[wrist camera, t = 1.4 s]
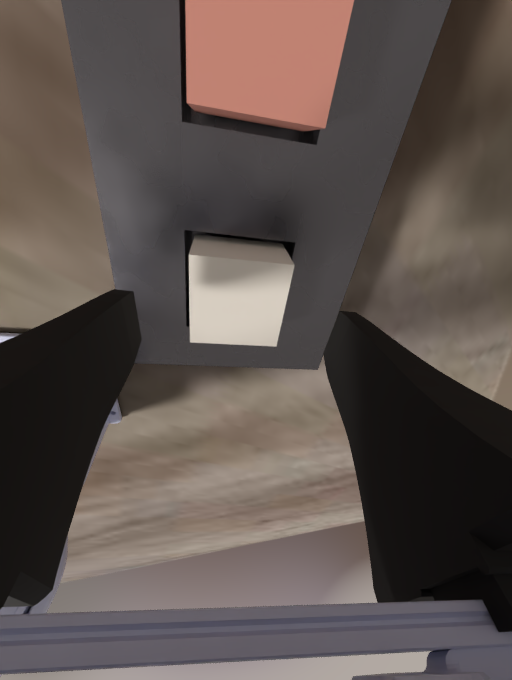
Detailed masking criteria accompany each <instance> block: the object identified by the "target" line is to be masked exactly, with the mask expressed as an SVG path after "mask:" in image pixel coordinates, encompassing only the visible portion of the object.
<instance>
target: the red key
mask: <svg viewBox="0 0 512 680" xmlns="http://www.w3.org/2000/svg"><path fill="white" fill-rule="evenodd" d="M353 3H354V0H185V10H186V85H187V104H188V105H189V106H190V107H191V108H192V109H193V110H194V111H195V112H197V113H203V114H208V115H214V116H219V117H225V118H231V119H236V120H242V121H247V122H253V123H258V124H264V125H269V126H275V127H280V128H286V129H292V130H297V131H303V132H304V131H311V130H319V129H325V128H326V123H327V119H328V114H329V110H330V106H331V101H332V97H333V92H334V88H335V83H336V79H337V74H338V70H339V66H340V61H341V57H342V52H343V48H344V43H345V39H346V34H347V30H348V25H349V21H350V17H351V12H352V8H353Z"/></svg>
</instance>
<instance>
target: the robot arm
mask: <svg viewBox="0 0 512 680" xmlns="http://www.w3.org/2000/svg"><path fill="white" fill-rule="evenodd" d="M141 340H142V338H141V332H140V326H139V320H138V314H137V309H136V303H135V297H134V291H126V290H116V289H114V290H112V291H109V292H107V293H105V294H103V295H100V296H98V297H96V298H94V299H93V300H91V301H89V302H87V303H85V304H83V305H81V306H79V307H77V308H75V309H73V310H71V311H69V312H67V313H65V314H63V315H61V316H59V317H57V318H55V319H53V320H51V321H48V322H46V323H44V324H42V325H40V326H38V327H36V328H33V329H31V330H29V331H27V332H25V333H23V334H17V333H0V676H1V675H2V674H17V673H37V672H55V671H73V670H89V669H90V670H92V669H109V668H129V667H147V666H164V665H184V664H202V663H221V662H239V661H257V660H276V659H293V658H312V657H331V656H348V655H367V654H385V653H404V652H423V651H432V652H430V653H429V655H428V657H427V667H426V670H425V671H424V672H414V673H387V674H375V675H362V676H353V678H352V680H512V411H511V410H509V409H507V408H505V407H503V406H501V405H499V404H497V403H496V402H494V401H492V400H490V399H488V398H486V397H484V396H482V395H480V394H478V393H476V392H474V391H473V390H471V389H469V388H467V387H465V386H464V385H462V384H460V383H459V382H457V381H455V380H453V379H452V378H450V377H448V376H447V375H445V374H443V373H442V372H440V371H438V370H437V369H435V368H434V367H432V366H431V365H429V364H428V363H426V362H425V361H423V360H422V359H420V358H419V357H417V356H416V355H414V354H413V353H412V352H410V351H409V350H407V349H406V348H405V347H403V346H402V345H400V344H399V343H398V342H396V341H395V340H394V339H392V338H391V337H390V336H388V335H387V334H386V333H384V332H383V331H382V330H380V329H379V328H378V327H376V326H375V325H374V324H372V323H371V322H369V321H368V320H367V319H365V318H364V317H362V316H361V315H359V314H357V313H356V312H346V311H339V314H338V316H337V319H336V321H335V324H334V327H333V329H332V332H331V334H330V337H329V340H328V342H327V345H326V347H325V350H324V353H323V354H324V360H325V366H326V371H327V376H328V379H329V383H330V386H331V389H332V392H333V395H334V397H335V400H336V403H337V406H338V409H339V412H340V415H341V418H342V421H343V424H344V426H345V429H346V433H347V436H348V440H349V444H350V448H351V452H352V457H353V461H354V466H355V470H356V475H357V480H358V485H359V490H360V496H361V501H362V507H363V513H364V519H365V525H366V531H367V538H368V546H369V554H370V561H371V568H372V578H373V587H374V591H375V595H376V598H377V602H378V603H358V604H329V605H328V604H326V605H294V606H265V607H264V606H263V607H235V608H234V607H233V608H204V609H203V608H200V609H170V610H138V611H107V612H75V613H47V611H48V609H49V607H50V605H51V603H52V600H53V598H54V596H55V594H56V592H57V589H58V587H59V584H60V581H61V578H62V575H63V572H64V569H65V565H66V560H67V553H68V544H67V543H68V531H69V528H70V525H71V522H72V518H73V515H74V512H75V508H76V505H77V502H78V499H79V495H80V492H81V489H82V487H83V485H84V482H85V480H86V478H87V475H88V473H89V470H90V468H91V466H92V463H93V461H94V458H95V456H96V453H97V451H98V448H99V446H100V444H101V441H102V439H103V436H104V434H105V431H106V429H107V427H108V424H109V423H119V422H120V421H121V419H122V415H121V411H120V407H119V403H118V399H117V398H118V396H119V394H120V392H121V390H122V388H123V386H124V383H125V381H126V379H127V377H128V375H129V373H130V371H131V369H132V367H133V365H134V362H135V359H136V356H137V353H138V350H139V347H140V343H141Z"/></svg>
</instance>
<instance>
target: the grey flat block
mask: <svg viewBox="0 0 512 680" xmlns="http://www.w3.org/2000/svg"><path fill="white" fill-rule="evenodd" d="M61 2H62V7H63V12H64V18H65V23H66V28H67V34H68V39H69V44H70V50H71V55H72V60H73V65H74V71H75V76H76V81H77V87H78V92H79V97H80V103H81V108H82V113H83V119H84V124H85V129H86V135H87V140H88V145H89V150H90V156H91V161H92V166H93V172H94V177H95V182H96V188H97V193H98V198H99V204H100V209H101V214H102V220H103V225H104V230H105V235H106V241H107V246H108V251H109V257H110V262H111V267H112V273H113V278H114V283H115V289H116V290H126V291H134V297H135V303H136V309H137V314H138V320H139V326H140V332H141V338H142V340H141V343H140V347H139V350H138V353H137V356H136V359H135V362H134V363H142V364H170V365H199V366H227V367H256V368H284V369H313V370H318V368H319V365H320V362H321V360H322V357H323V353H324V350H325V347H326V345H327V342H328V340H329V337H330V334H331V332H332V329H333V326H334V324H335V321H336V318H337V315H338V313H339V310H340V307H341V304H342V301H343V299H344V296H345V293H346V290H347V288H348V285H349V282H350V279H351V277H352V274H353V271H354V268H355V266H356V263H357V260H358V257H359V254H360V252H361V249H362V246H363V243H364V241H365V238H366V235H367V232H368V230H369V227H370V224H371V221H372V219H373V216H374V213H375V210H376V207H377V205H378V202H379V199H380V196H381V194H382V191H383V188H384V185H385V183H386V180H387V177H388V174H389V172H390V169H391V166H392V163H393V160H394V158H395V155H396V152H397V149H398V147H399V144H400V141H401V138H402V136H403V133H404V130H405V127H406V125H407V122H408V119H409V116H410V114H411V111H412V108H413V105H414V102H415V100H416V97H417V94H418V91H419V89H420V86H421V83H422V80H423V78H424V75H425V72H426V69H427V67H428V64H429V61H430V58H431V55H432V53H433V50H434V47H435V44H436V42H437V39H438V36H439V33H440V31H441V28H442V25H443V22H444V20H445V17H446V14H447V11H448V8H449V6H450V3H451V0H354V3H353V8H352V12H351V17H350V21H349V25H348V30H347V34H346V39H345V43H344V48H343V52H342V57H341V61H340V66H339V70H338V74H337V79H336V83H335V88H334V92H333V97H332V101H331V106H330V110H329V114H328V119H327V123H326V128H325V129H319V130H311V131H304V132H303V131H297V130H292V129H286V128H280V127H275V126H269V125H264V124H258V123H253V122H247V121H242V120H236V119H231V118H225V117H219V116H214V115H208V114H203V113H197V112H195V111H194V110H193V109H192V108H191V107H190V106H189V105H188V104H187V85H186V10H185V0H61ZM195 234H199V235H208V236H217V237H226V238H235V239H244V240H253V241H263V242H272V243H281V244H283V246H284V247H285V249H286V251H287V253H288V254H289V256H290V258H291V260H292V261H293V263H294V265H295V266H294V270H293V275H292V279H291V284H290V288H289V293H288V297H287V301H286V306H285V310H284V315H283V319H282V324H281V328H280V333H279V337H278V342H277V346H276V347H275V346H254V345H233V344H212V343H191V342H190V311H189V252H190V249H191V246H192V243H193V240H194V236H195Z"/></svg>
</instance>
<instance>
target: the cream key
mask: <svg viewBox="0 0 512 680" xmlns="http://www.w3.org/2000/svg"><path fill="white" fill-rule="evenodd" d="M294 266H295V265H294V263H293V261H292V260H291V258H290V256H289V254H288V253H287V251H286V249H285V247H284V246H283V244H281V243H272V242H263V241H253V240H244V239H235V238H226V237H217V236H208V235H199V234H195V236H194V240H193V243H192V246H191V249H190V252H189V311H190V342H191V343H212V344H233V345H254V346H275V347H276V346H277V342H278V337H279V333H280V328H281V324H282V319H283V315H284V310H285V306H286V301H287V297H288V293H289V288H290V284H291V279H292V275H293V270H294Z"/></svg>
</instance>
